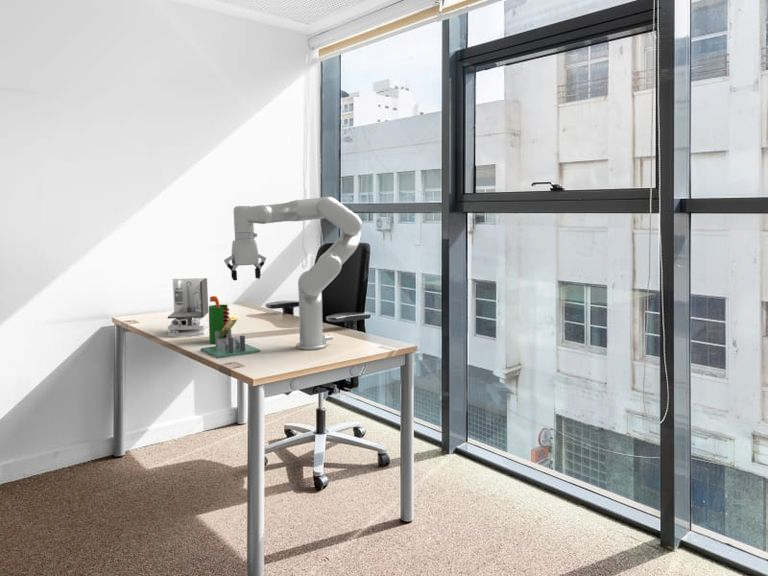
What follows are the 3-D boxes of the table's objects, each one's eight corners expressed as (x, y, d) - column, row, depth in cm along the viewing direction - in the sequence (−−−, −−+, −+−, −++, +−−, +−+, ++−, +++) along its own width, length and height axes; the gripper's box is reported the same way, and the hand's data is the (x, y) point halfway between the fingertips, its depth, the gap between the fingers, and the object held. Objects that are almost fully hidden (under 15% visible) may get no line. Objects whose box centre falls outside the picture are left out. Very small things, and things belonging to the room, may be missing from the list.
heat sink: (231, 344, 254) (231, 328, 254) (243, 349, 245) (243, 333, 244) (213, 346, 250) (212, 331, 249) (224, 351, 240) (224, 335, 239)
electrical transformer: (209, 329, 294) (207, 278, 291) (202, 337, 275) (200, 282, 272) (175, 330, 292) (173, 279, 289) (166, 338, 273) (164, 283, 270)
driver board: (242, 344, 258) (241, 328, 257) (260, 352, 244) (260, 334, 243) (200, 350, 248) (200, 333, 247) (217, 358, 233) (216, 340, 232)
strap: (227, 334, 251) (225, 330, 252) (237, 319, 241) (236, 314, 242) (220, 335, 250) (218, 331, 250) (230, 319, 239) (229, 315, 240)
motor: (231, 343, 261) (229, 297, 259) (209, 344, 259) (208, 298, 256) (230, 338, 271) (228, 294, 269) (209, 340, 268) (207, 295, 266)
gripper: (261, 236, 252) (262, 277, 254) (220, 237, 242) (222, 280, 244) (268, 236, 246) (270, 278, 248) (226, 237, 236) (228, 281, 238)
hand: (246, 279), depth 246 cm, fingers open, 9 cm apart
